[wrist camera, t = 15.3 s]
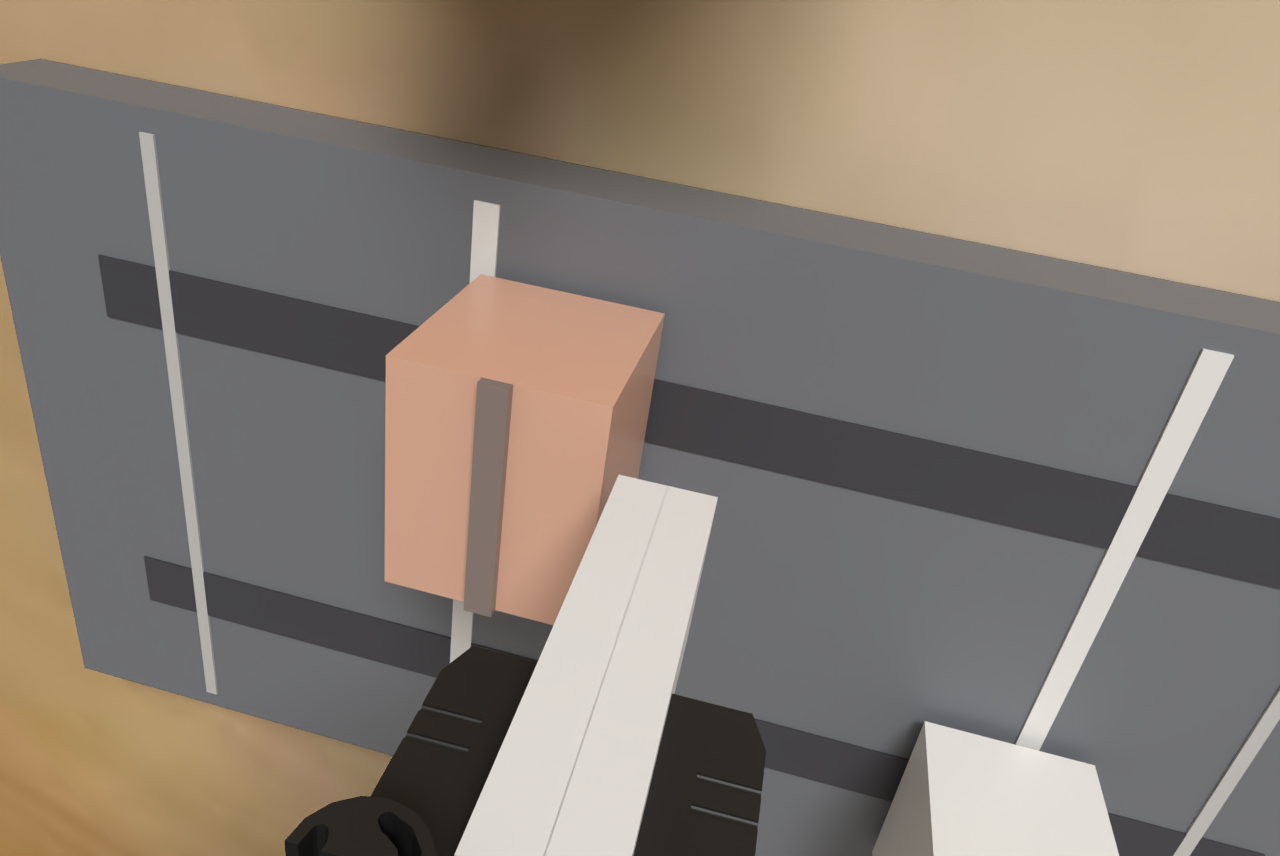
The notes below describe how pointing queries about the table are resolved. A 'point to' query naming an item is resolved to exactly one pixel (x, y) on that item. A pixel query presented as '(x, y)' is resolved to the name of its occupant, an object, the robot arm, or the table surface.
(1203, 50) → the table surface
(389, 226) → the console
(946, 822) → the block
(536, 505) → the fader
